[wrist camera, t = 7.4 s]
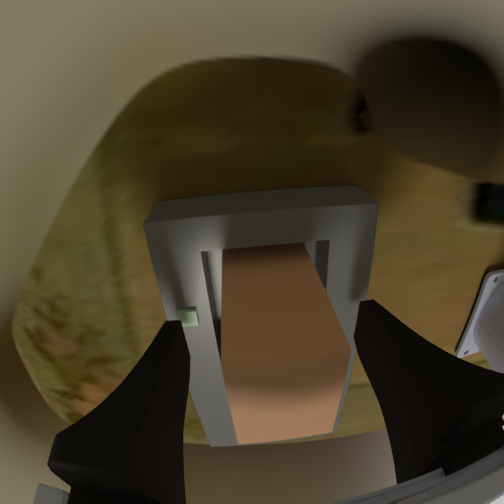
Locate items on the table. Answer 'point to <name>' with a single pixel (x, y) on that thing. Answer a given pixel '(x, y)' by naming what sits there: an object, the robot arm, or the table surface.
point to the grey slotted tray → (251, 235)
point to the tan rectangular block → (279, 344)
